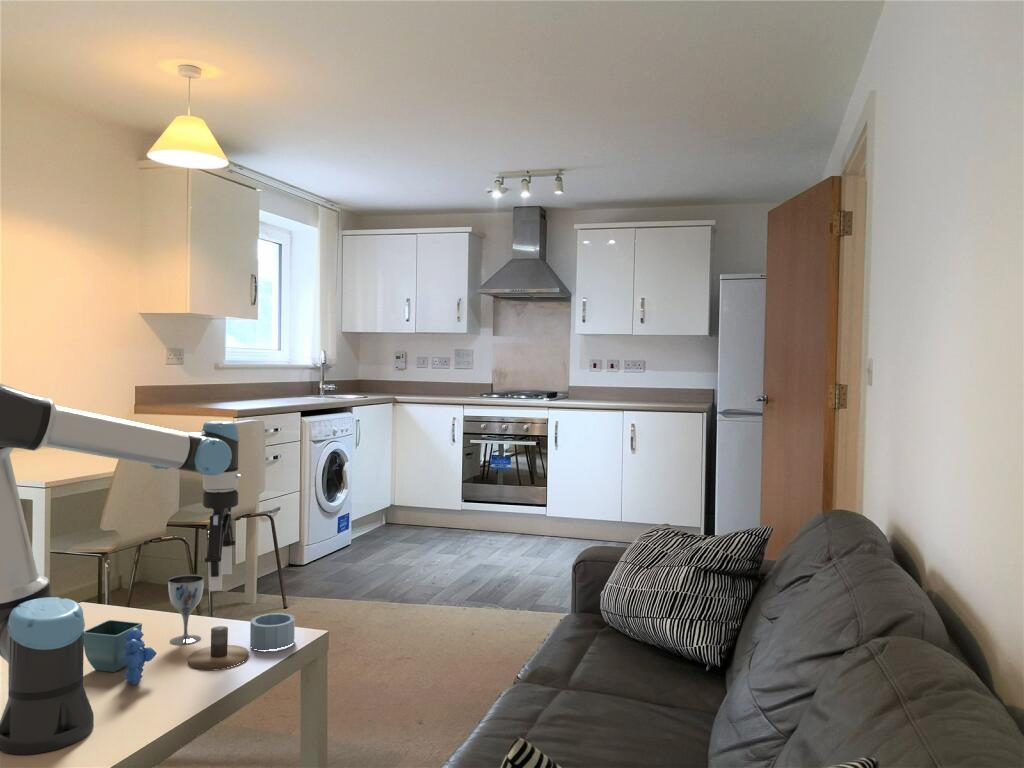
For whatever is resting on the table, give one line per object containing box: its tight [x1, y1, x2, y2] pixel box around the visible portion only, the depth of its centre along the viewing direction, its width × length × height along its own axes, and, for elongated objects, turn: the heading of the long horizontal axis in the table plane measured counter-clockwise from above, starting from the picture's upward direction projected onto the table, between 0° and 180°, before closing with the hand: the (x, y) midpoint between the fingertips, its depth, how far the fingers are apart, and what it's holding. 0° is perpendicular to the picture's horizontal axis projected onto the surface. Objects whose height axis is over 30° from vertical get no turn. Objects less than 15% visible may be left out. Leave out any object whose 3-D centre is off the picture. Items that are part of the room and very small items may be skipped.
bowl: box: [249, 612, 296, 650], centre depth 190 cm, size 10×10×6 cm
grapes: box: [121, 628, 157, 686], centre depth 166 cm, size 12×7×12 cm, turn 22°
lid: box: [187, 625, 250, 671], centre depth 180 cm, size 13×13×7 cm
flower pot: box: [84, 619, 143, 673], centre depth 174 cm, size 9×9×9 cm
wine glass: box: [167, 574, 205, 646], centre depth 192 cm, size 8×8×15 cm
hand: (220, 582), depth 180 cm, fingers open, 13 cm apart
